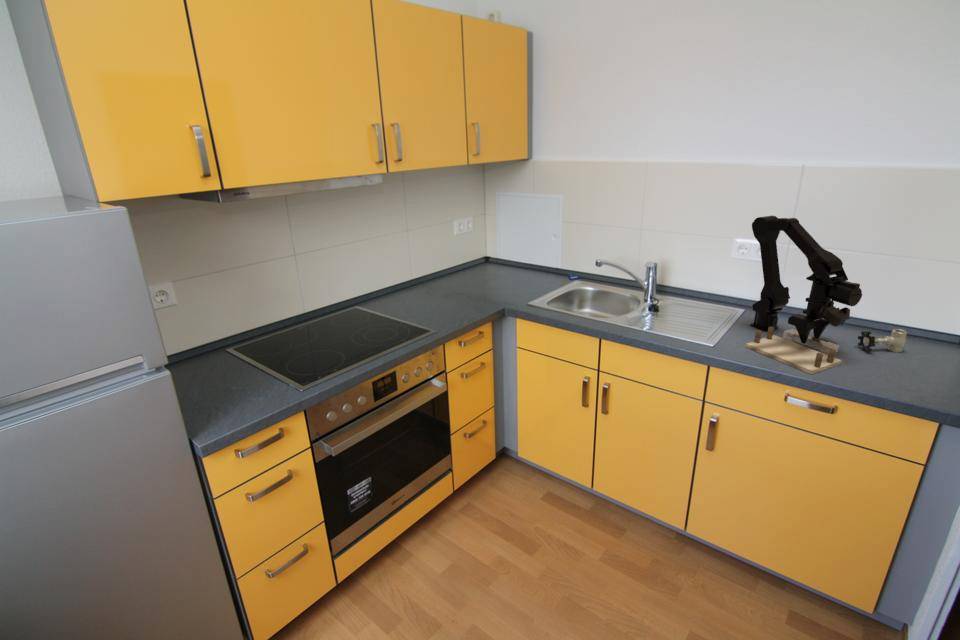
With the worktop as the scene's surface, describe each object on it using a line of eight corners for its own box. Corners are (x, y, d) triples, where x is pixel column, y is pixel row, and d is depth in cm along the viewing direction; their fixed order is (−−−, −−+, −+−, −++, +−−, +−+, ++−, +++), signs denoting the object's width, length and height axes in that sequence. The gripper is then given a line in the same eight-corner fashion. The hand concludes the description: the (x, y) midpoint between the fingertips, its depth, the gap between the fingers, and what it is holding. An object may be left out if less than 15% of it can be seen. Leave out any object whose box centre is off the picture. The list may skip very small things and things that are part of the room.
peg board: (744, 346, 164) (747, 332, 162) (773, 338, 170) (776, 324, 168) (811, 374, 146) (815, 358, 144) (840, 363, 151) (844, 348, 149)
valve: (893, 345, 162) (855, 346, 162) (898, 326, 159) (860, 327, 160) (908, 354, 156) (869, 355, 156) (914, 335, 153) (874, 335, 154)
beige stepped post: (782, 337, 170) (783, 331, 169) (790, 335, 171) (791, 328, 170) (829, 355, 157) (831, 348, 156) (837, 352, 158) (839, 345, 157)
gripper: (827, 309, 147) (816, 357, 153) (865, 298, 155) (853, 344, 160) (791, 298, 157) (782, 343, 163) (828, 288, 164) (818, 332, 170)
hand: (809, 341), depth 164 cm, fingers open, 6 cm apart
